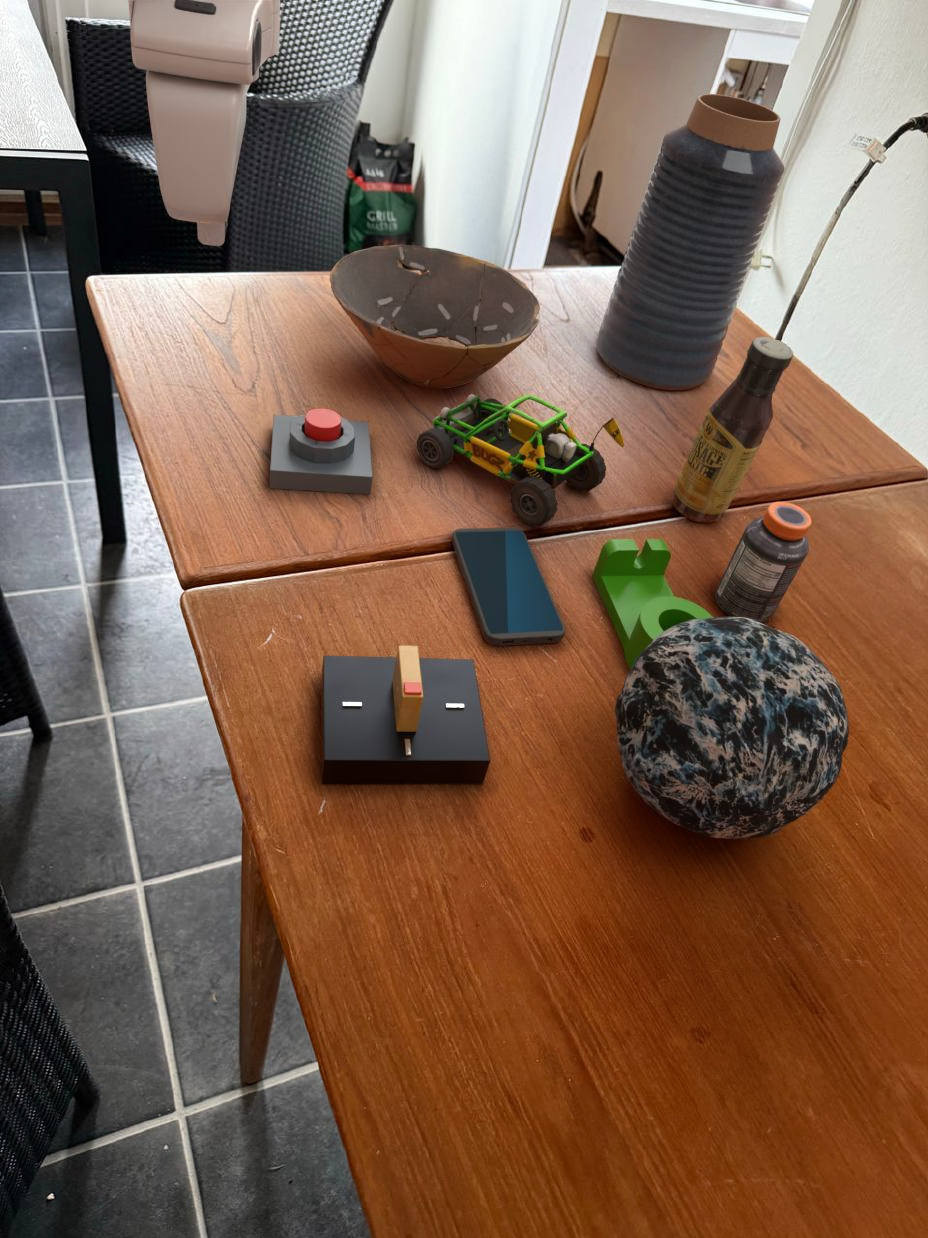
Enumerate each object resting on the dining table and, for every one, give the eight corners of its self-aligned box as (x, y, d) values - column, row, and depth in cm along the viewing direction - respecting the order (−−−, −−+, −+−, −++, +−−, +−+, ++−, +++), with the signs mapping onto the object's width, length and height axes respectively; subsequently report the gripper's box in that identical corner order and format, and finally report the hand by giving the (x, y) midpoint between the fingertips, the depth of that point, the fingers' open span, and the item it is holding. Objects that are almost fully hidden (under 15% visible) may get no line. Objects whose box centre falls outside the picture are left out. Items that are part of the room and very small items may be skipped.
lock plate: (321, 785, 64) (324, 759, 61) (321, 680, 71) (323, 653, 68) (483, 784, 66) (490, 759, 64) (467, 683, 73) (473, 657, 71)
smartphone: (485, 647, 76) (487, 639, 75) (448, 534, 86) (449, 527, 85) (566, 642, 78) (569, 635, 77) (521, 533, 88) (523, 526, 88)
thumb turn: (392, 680, 68) (398, 642, 65) (411, 680, 68) (418, 643, 65) (396, 732, 64) (403, 694, 61) (416, 732, 65) (424, 695, 62)
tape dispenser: (714, 690, 77) (734, 654, 74) (640, 693, 75) (657, 657, 72) (655, 574, 87) (671, 539, 84) (589, 575, 86) (602, 539, 82)
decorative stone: (611, 871, 62) (682, 742, 52) (582, 697, 74) (635, 563, 64) (819, 882, 65) (928, 761, 54) (760, 712, 76) (839, 585, 66)
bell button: (304, 441, 87) (304, 426, 86) (304, 421, 90) (305, 406, 89) (340, 444, 88) (341, 429, 87) (340, 424, 91) (341, 409, 89)
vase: (586, 372, 115) (663, 105, 93) (601, 322, 127) (673, 74, 105) (707, 405, 114) (814, 144, 92) (711, 351, 126) (806, 108, 104)
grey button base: (269, 488, 87) (270, 454, 84) (273, 431, 94) (273, 399, 91) (370, 494, 89) (374, 462, 86) (366, 438, 96) (370, 407, 93)
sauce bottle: (659, 493, 98) (725, 326, 84) (706, 489, 100) (778, 326, 86) (686, 530, 94) (760, 361, 80) (735, 526, 96) (816, 361, 82)
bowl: (314, 313, 114) (318, 236, 107) (494, 322, 121) (509, 250, 114) (340, 421, 97) (346, 337, 91) (547, 424, 104) (568, 347, 97)
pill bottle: (752, 581, 89) (799, 491, 81) (783, 622, 85) (837, 532, 78) (702, 586, 87) (746, 495, 79) (732, 629, 83) (782, 537, 76)
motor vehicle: (477, 421, 102) (493, 337, 95) (615, 501, 95) (644, 417, 88) (412, 457, 95) (425, 369, 88) (556, 546, 88) (583, 459, 81)
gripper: (171, -35, 60) (182, 178, 69) (124, 40, 45) (147, 296, 55) (266, -19, 61) (264, 189, 70) (249, 59, 47) (250, 306, 56)
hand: (213, 237), depth 63 cm, fingers closed
